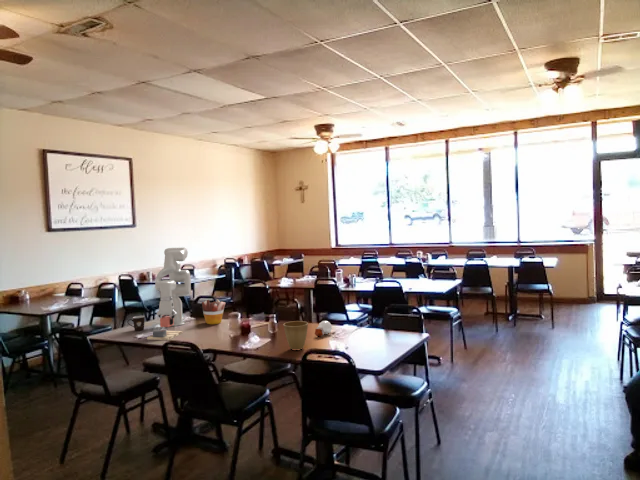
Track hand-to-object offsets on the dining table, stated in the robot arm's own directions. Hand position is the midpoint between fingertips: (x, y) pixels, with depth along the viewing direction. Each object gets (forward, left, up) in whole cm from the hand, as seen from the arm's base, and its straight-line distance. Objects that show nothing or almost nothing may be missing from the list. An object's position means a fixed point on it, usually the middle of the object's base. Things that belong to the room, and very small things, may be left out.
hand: (167, 324), depth 351 cm
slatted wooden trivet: (+3, 0, -8) cm, 8 cm away
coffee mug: (-13, -32, -8) cm, 36 cm away
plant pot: (+27, +102, -8) cm, 106 cm away
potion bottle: (-11, +111, -8) cm, 112 cm away
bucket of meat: (-42, +16, -8) cm, 46 cm away
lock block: (0, 0, -1) cm, 1 cm away
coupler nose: (+10, 0, -6) cm, 12 cm away
